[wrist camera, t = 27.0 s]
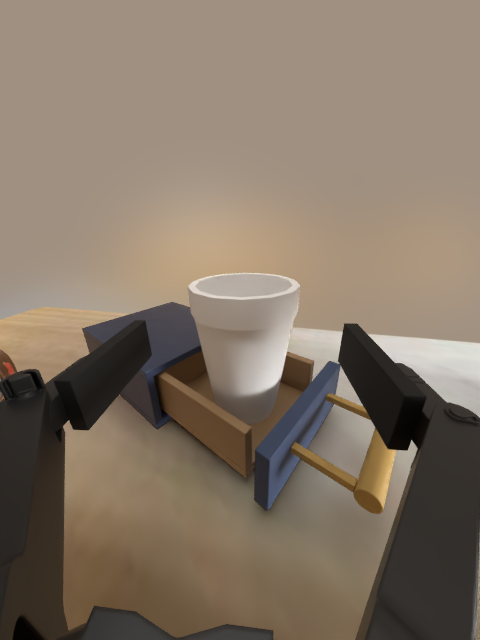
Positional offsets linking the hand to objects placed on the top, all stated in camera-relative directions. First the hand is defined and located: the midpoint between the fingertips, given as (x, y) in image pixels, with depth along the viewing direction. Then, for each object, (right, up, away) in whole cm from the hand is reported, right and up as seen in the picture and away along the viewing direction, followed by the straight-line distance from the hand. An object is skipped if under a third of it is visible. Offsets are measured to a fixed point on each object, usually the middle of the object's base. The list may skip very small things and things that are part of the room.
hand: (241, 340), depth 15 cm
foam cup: (+1, -8, +10) cm, 12 cm away
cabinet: (-10, -6, +19) cm, 22 cm away
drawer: (+3, -9, +8) cm, 13 cm away
